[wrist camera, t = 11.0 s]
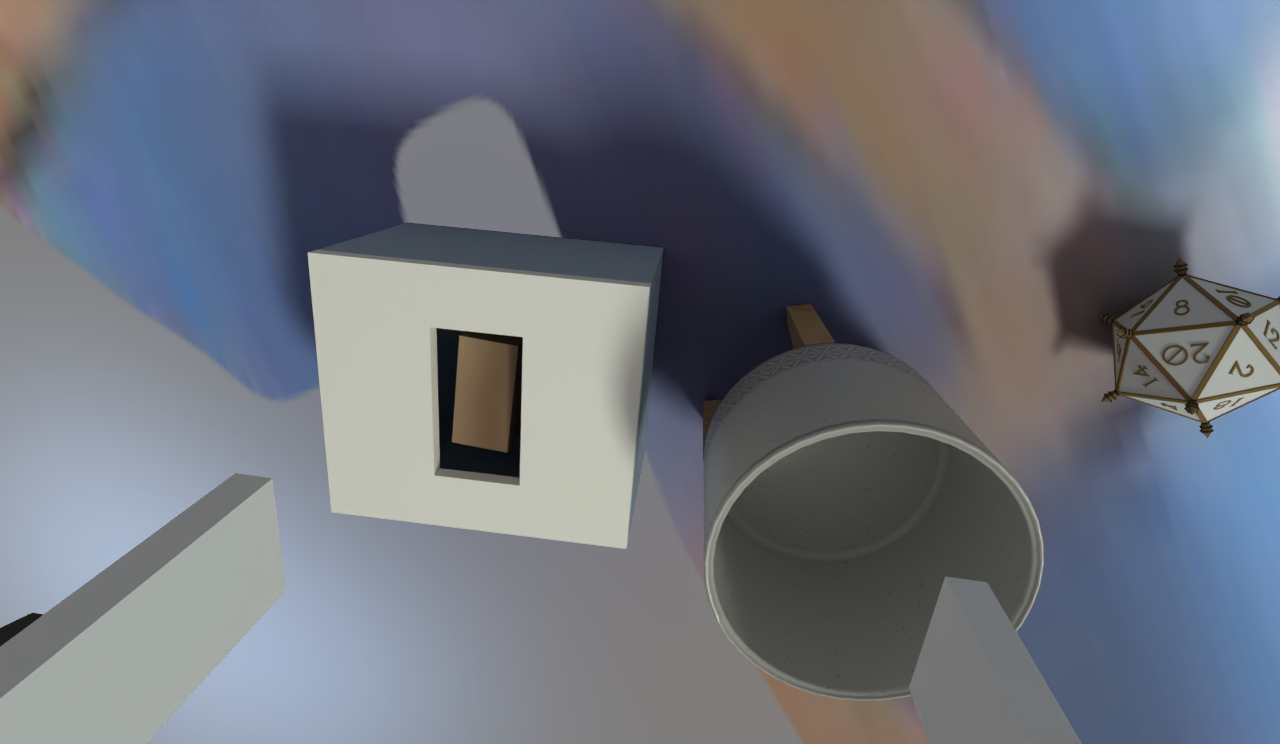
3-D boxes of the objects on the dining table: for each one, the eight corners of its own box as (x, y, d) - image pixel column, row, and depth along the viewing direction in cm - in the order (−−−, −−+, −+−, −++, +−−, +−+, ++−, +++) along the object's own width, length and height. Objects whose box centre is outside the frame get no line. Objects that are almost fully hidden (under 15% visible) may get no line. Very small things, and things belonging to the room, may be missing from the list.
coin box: (407, 222, 41) (307, 252, 31) (663, 247, 40) (649, 287, 30) (415, 427, 46) (331, 512, 36) (644, 453, 45) (626, 548, 35)
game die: (1092, 340, 43) (1074, 452, 38) (1112, 227, 38) (1094, 339, 32) (1277, 358, 38) (1288, 490, 33) (1329, 231, 33) (1353, 363, 27)
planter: (908, 292, 40) (1056, 407, 23) (909, 482, 44) (1034, 695, 27) (693, 316, 41) (686, 439, 25) (714, 497, 46) (719, 706, 29)
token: (500, 382, 43) (451, 442, 35) (509, 294, 41) (459, 335, 33) (545, 390, 43) (507, 452, 35) (556, 303, 41) (518, 346, 33)
